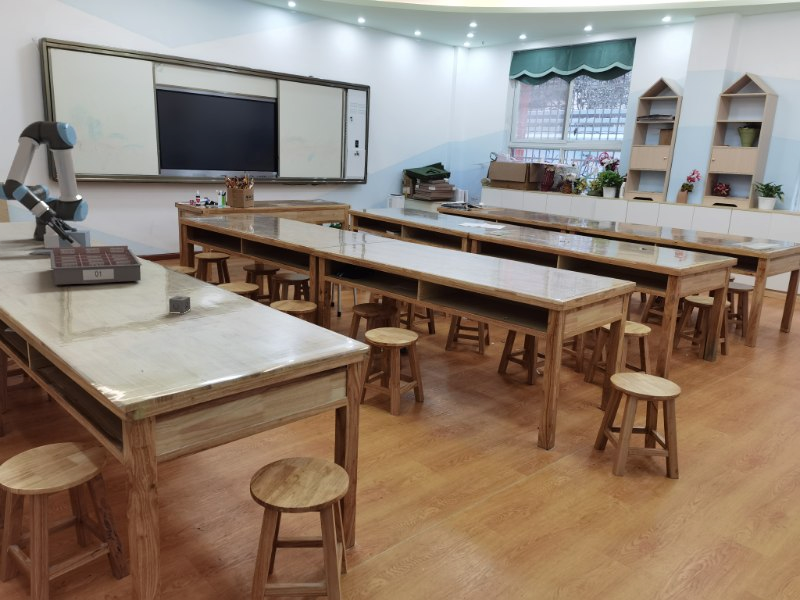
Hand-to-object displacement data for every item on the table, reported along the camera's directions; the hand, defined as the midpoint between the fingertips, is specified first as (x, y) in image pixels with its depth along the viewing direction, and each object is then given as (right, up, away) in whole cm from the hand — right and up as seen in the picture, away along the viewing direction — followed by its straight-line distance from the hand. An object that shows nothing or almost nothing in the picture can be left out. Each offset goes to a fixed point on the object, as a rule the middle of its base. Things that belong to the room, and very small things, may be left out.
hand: (81, 245), depth 302 cm
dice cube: (+84, -32, -94) cm, 130 cm away
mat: (-17, -4, -3) cm, 17 cm away
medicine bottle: (-21, 0, +13) cm, 25 cm away
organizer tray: (+31, -18, -47) cm, 59 cm away
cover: (-3, -4, 0) cm, 5 cm away
